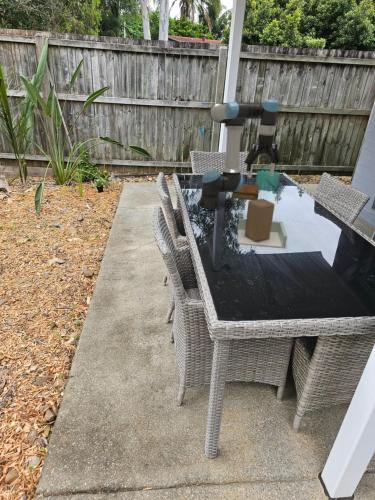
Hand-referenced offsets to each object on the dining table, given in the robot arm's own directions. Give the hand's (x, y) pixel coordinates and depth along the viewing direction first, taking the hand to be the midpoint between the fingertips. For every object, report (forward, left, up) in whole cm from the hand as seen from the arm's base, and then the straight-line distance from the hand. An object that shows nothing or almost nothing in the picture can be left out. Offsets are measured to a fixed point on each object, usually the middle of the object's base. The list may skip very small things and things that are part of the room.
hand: (260, 176), depth 170 cm
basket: (+16, +96, -32) cm, 102 cm away
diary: (-2, +72, -32) cm, 79 cm away
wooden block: (+2, -9, -31) cm, 32 cm away
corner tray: (+4, -8, -32) cm, 33 cm away
